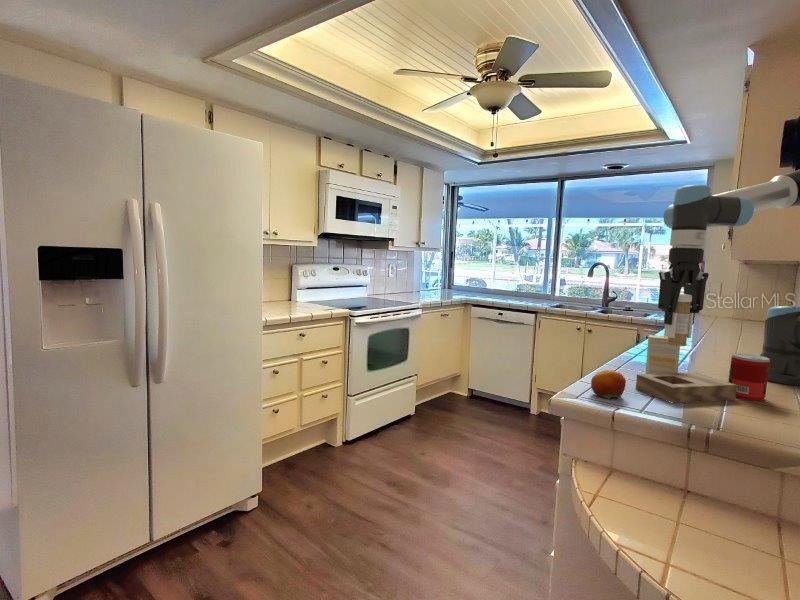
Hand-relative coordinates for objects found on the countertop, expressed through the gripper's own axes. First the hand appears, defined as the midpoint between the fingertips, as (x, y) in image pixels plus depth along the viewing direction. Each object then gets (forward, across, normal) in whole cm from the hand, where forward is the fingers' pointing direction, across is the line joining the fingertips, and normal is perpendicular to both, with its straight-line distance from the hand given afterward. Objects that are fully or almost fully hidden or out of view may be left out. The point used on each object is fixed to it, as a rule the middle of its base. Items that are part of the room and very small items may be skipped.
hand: (677, 336), depth 116 cm
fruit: (+16, -19, +1) cm, 25 cm away
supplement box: (+16, +9, +13) cm, 22 cm away
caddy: (+16, +4, 0) cm, 16 cm away
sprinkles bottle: (+2, 0, 0) cm, 2 cm away
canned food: (+16, +20, -4) cm, 26 cm away
